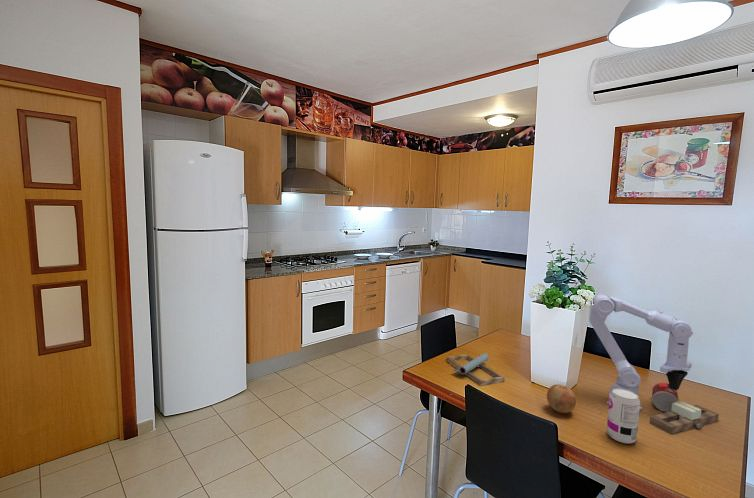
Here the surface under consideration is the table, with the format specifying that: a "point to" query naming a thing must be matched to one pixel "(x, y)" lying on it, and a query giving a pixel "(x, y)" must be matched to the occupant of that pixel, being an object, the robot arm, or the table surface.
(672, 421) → the wooden slotted frame
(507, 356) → the table surface
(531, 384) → the table surface
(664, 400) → the canned food
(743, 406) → the table surface
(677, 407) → the rider
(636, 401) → the supplement can
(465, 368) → the aluminum foil
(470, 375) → the foil cradle
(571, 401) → the onion
